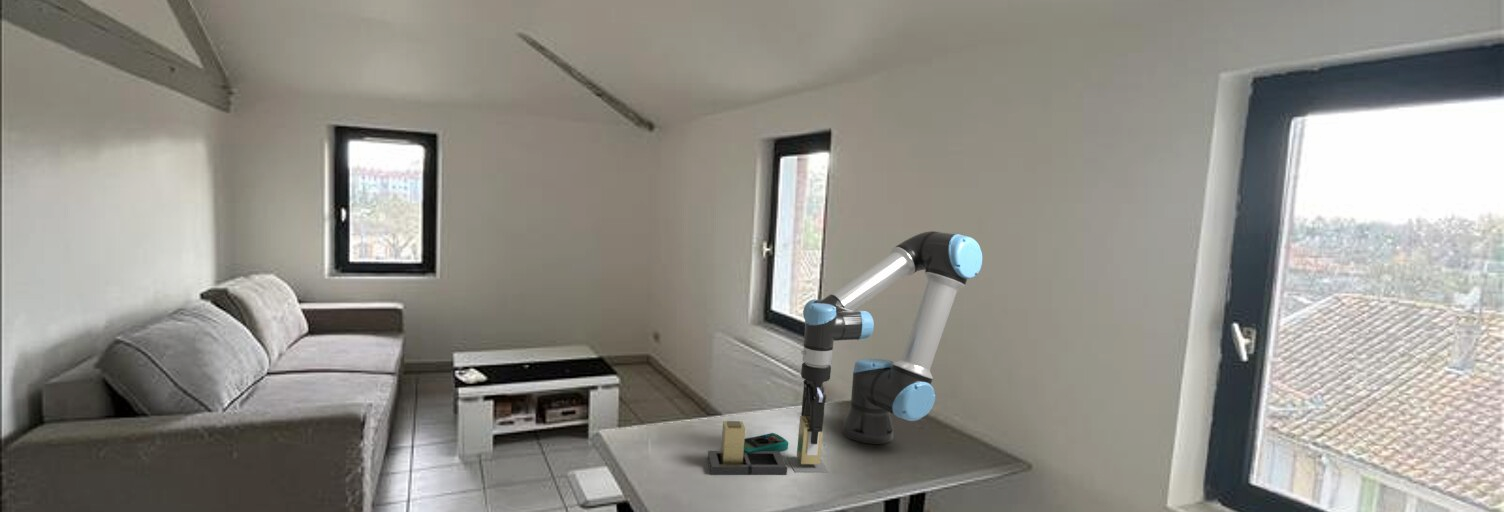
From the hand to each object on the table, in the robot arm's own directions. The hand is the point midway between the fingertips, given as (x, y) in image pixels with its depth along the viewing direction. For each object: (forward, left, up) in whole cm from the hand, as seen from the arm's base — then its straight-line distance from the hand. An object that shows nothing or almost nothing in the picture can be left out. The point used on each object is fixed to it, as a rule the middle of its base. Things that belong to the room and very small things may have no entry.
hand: (809, 450), depth 177 cm
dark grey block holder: (+17, +1, -5) cm, 17 cm away
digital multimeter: (+11, -9, -4) cm, 15 cm away
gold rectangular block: (+21, +1, -4) cm, 21 cm away
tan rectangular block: (0, 0, -3) cm, 3 cm away
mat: (0, 0, -5) cm, 5 cm away
